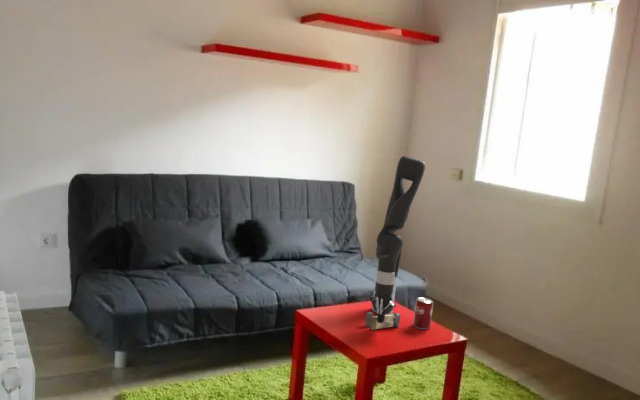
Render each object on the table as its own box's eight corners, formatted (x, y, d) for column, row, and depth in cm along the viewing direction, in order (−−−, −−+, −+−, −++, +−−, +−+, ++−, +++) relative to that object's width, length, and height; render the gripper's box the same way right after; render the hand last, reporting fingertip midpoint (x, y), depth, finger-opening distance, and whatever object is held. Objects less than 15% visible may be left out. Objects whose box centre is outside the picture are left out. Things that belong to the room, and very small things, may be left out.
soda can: (416, 329, 239) (420, 302, 238) (410, 323, 246) (414, 297, 245) (432, 330, 241) (436, 303, 239) (426, 323, 248) (429, 297, 246)
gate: (390, 325, 240) (392, 313, 240) (393, 327, 239) (394, 315, 238) (369, 328, 234) (371, 316, 234) (372, 330, 233) (373, 317, 232)
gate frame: (364, 324, 239) (366, 311, 239) (397, 325, 242) (398, 312, 242) (366, 327, 236) (368, 314, 236) (399, 327, 240) (401, 315, 239)
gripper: (403, 284, 228) (398, 326, 230) (379, 276, 238) (375, 316, 240) (390, 286, 223) (385, 329, 225) (367, 278, 233) (362, 318, 235)
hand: (380, 322), depth 232 cm, fingers closed
